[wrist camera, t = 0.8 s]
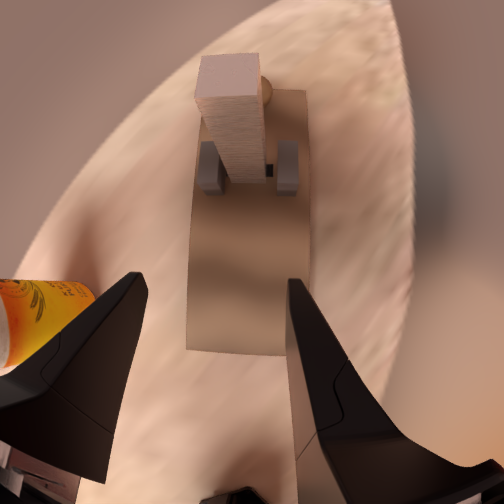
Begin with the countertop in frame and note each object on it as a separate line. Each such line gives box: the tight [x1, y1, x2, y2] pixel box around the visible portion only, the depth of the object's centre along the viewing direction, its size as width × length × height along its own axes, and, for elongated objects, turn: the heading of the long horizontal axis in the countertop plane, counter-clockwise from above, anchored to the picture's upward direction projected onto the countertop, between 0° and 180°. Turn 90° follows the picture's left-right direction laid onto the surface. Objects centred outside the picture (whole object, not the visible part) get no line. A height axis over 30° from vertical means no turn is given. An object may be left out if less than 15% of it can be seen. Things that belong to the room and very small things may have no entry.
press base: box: [186, 76, 310, 356], centre depth 21 cm, size 22×9×5 cm, turn 178°
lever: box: [194, 53, 273, 183], centre depth 16 cm, size 2×3×12 cm
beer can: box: [0, 279, 95, 369], centre depth 16 cm, size 6×6×15 cm
